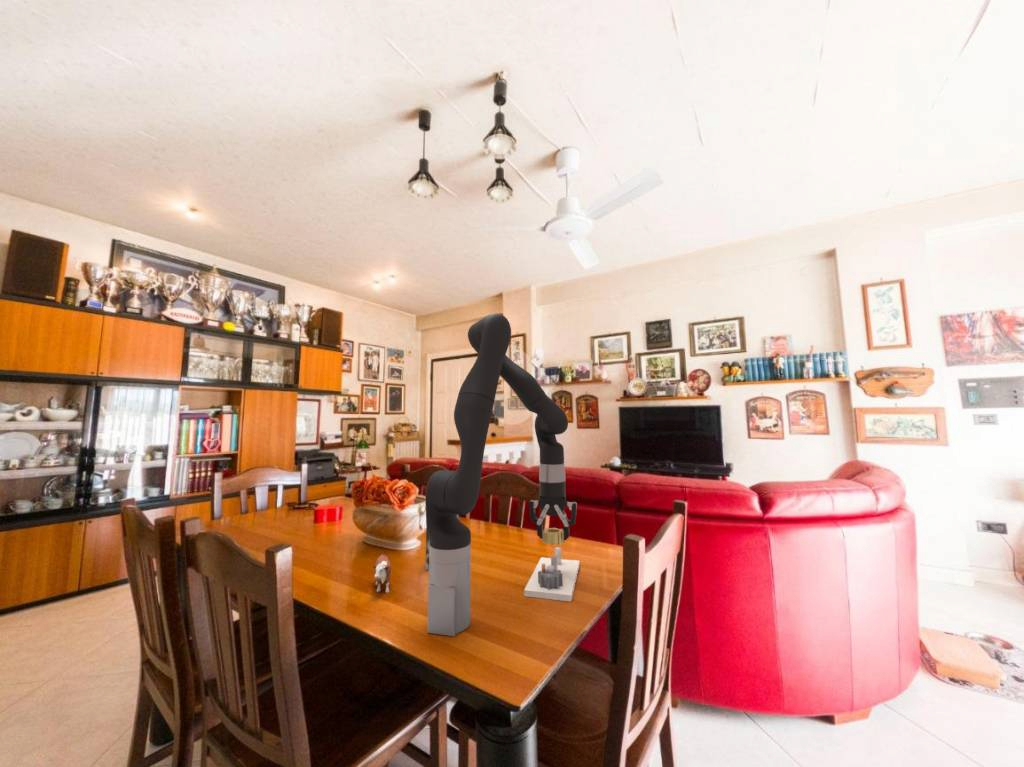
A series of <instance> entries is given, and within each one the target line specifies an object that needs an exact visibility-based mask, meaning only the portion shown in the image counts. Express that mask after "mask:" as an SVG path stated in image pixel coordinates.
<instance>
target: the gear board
mask: <svg viewBox="0 0 1024 767" xmlns="http://www.w3.org/2000/svg"><path fill="white" fill-rule="evenodd" d="M580 562H581V561H580V560H575V559H563V558H562V548H561V547H558V546H557V547H555V548H554V556H551V557H542V556H541V557H540V559H539V561H538V562H537V565H536V566H535V568H534V571H533V572H532V574H531V576H530V578H529V580H528V581H527V584H526V585H525V588H523V589H524V590H523V593H524V594H523V595H524V596H523V597H527V598H529V597H530V598H537V599H544V600H554V601H563V602H570V603H571V602H572V601H573V596H574V591H575V587H576V584H577V583H576V582H577V579H578V575H577V574H579V571H578V570H580V566H579V565H580ZM575 583H576V584H575Z"/></svg>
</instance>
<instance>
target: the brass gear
mask: <svg viewBox="0 0 1024 767" xmlns="http://www.w3.org/2000/svg"><path fill="white" fill-rule="evenodd" d="M541 541H542V542H543V544H544V545H546V544H547V545H550V546H555V545H559V546H561V545H562V544H563V543H564V544H565V542H566V540H564V528H558V527H557V528H556V527H550V528H549V527H546V528H545V529H543V530H542V539H541Z"/></svg>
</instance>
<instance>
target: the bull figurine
mask: <svg viewBox="0 0 1024 767" xmlns="http://www.w3.org/2000/svg"><path fill="white" fill-rule="evenodd" d="M373 569H374V576H373V577H374V579H375V580H376V581H375V586H376V587H377V588H376V593H380V592H381V583H382V585H383V584H384V583H385V586H386V587H385V593H386V594H389V593H390V587H389V585H390V578H391V572H392V564H391V562H390V560H389V558H388V556H386V555H385V554H381V555H380V556H378V557H377V558H376V561H375V564H374V565H373Z"/></svg>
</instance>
